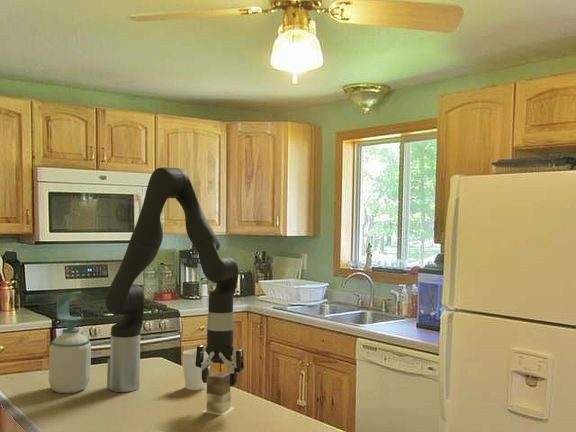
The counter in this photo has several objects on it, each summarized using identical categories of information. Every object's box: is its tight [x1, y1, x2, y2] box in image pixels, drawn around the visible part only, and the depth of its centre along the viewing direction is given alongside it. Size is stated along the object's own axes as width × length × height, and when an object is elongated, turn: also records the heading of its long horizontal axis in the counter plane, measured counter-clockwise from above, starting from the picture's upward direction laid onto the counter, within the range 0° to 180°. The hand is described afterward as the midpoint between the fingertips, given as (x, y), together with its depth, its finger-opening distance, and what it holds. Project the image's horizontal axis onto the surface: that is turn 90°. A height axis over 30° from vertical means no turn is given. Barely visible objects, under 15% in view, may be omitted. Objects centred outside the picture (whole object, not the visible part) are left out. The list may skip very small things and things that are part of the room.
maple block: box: [206, 390, 232, 414], centre depth 165 cm, size 5×5×5 cm
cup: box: [181, 348, 211, 391], centre depth 187 cm, size 9×9×12 cm
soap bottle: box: [48, 290, 92, 394], centre depth 183 cm, size 12×12×31 cm
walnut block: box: [206, 371, 231, 396], centre depth 165 cm, size 5×5×5 cm
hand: (219, 384), depth 165 cm, fingers open, 8 cm apart
